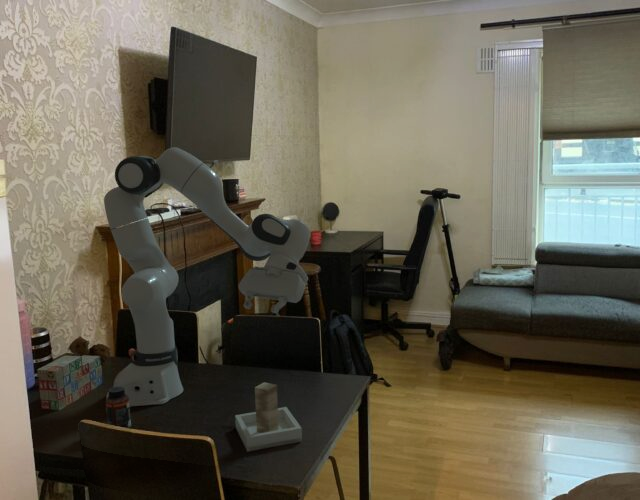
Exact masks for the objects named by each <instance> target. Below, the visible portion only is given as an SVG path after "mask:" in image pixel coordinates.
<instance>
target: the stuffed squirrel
mask: <svg viewBox="0 0 640 500" xmlns="http://www.w3.org/2000/svg"><path fill="white" fill-rule="evenodd" d="M89 344H90V341H89V340H87V339H85V338H84V337H82V336H81V335H80V336H78V337H76V338H75V339H74V340H73V341H72V342H71V343H70V344H69V346H68V348H67V353H69V352H70V353H71V354H72V355H71V356H83V355H86V356H100V361H101V367H102V371H104V370H105V369H106V366H107V363H108V362H107V359H108V358H109V357H110V356H111V350H112V349H111V348H110V347H108V346H107V345H105V344H103V343H96V344H93V345H91V347H90V348H89Z"/></svg>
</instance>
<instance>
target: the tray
mask: <svg viewBox="0 0 640 500" xmlns="http://www.w3.org/2000/svg"><path fill="white" fill-rule="evenodd" d="M234 420H235V421H234V422H235V429H236V431H237V433H238V435H239V437H240V439H241V441H242V443H243V445H244V448H245V451H246V452H252V451H257V450H262V449H267V448H272V447H278V446H284V445H289V444H294V443H295V444H296V443H301V442H303V428H302V426H301V425H300V424H299V423H298V421H297V419H296V418H295V417H294V415H293V414H292V412H291V411H290V410H289V409H288V407H287V406H283V407H278V426H279V429H278V430H276V431H270V432H265V433H259V432H257V424H256V411H254V412H247V413H242V414H241V413H240V414H235V419H234Z"/></svg>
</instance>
